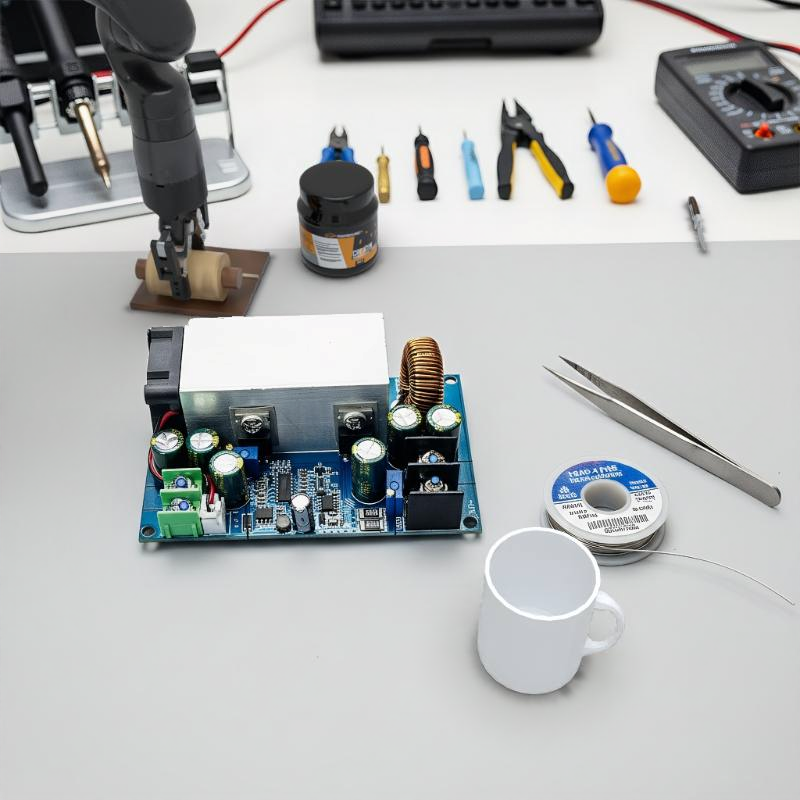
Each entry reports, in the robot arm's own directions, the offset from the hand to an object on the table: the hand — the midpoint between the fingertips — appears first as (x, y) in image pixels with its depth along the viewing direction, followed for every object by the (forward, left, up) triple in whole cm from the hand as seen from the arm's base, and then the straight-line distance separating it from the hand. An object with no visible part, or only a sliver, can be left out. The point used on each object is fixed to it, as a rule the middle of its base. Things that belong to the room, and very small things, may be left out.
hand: (190, 282), depth 124 cm
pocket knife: (+64, +27, -3) cm, 70 cm away
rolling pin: (0, 0, -2) cm, 2 cm away
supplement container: (+16, +12, -3) cm, 21 cm away
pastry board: (0, +4, -3) cm, 5 cm away
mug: (+46, -45, -3) cm, 64 cm away
